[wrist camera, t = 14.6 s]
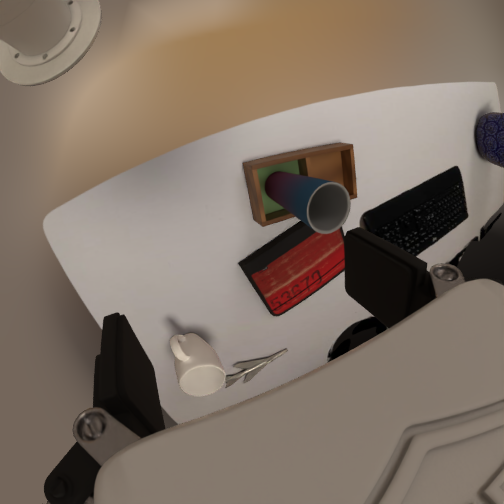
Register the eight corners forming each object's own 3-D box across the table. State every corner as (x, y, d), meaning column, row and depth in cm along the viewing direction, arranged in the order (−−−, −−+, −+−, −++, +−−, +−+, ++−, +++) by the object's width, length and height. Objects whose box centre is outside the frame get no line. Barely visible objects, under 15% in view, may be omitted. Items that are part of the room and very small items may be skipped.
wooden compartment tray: (242, 162, 46) (251, 165, 42) (339, 142, 50) (352, 144, 47) (253, 220, 50) (262, 227, 47) (344, 192, 55) (357, 197, 52)
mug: (217, 343, 58) (234, 381, 48) (184, 362, 57) (196, 402, 47) (185, 304, 52) (198, 343, 42) (149, 326, 51) (155, 368, 41)
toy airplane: (290, 357, 68) (295, 363, 66) (214, 395, 64) (216, 402, 62) (283, 337, 64) (287, 343, 62) (200, 379, 60) (203, 386, 59)
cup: (291, 207, 51) (343, 236, 38) (256, 202, 48) (301, 231, 35) (299, 169, 48) (355, 187, 36) (264, 162, 46) (313, 177, 33)
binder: (241, 268, 50) (335, 204, 52) (237, 262, 52) (328, 200, 54) (276, 322, 59) (354, 264, 61) (271, 315, 61) (347, 260, 63)
